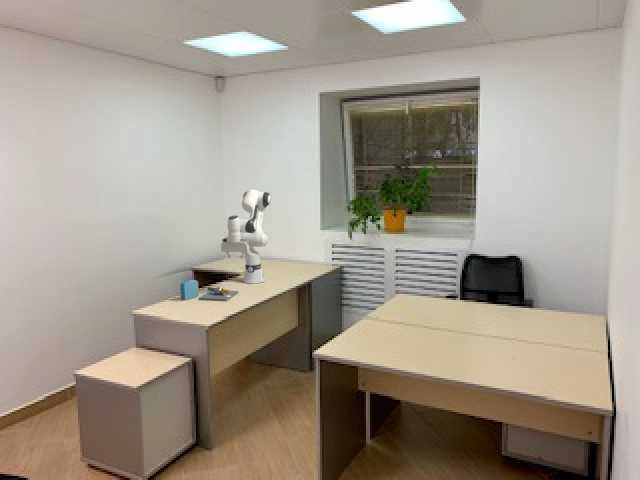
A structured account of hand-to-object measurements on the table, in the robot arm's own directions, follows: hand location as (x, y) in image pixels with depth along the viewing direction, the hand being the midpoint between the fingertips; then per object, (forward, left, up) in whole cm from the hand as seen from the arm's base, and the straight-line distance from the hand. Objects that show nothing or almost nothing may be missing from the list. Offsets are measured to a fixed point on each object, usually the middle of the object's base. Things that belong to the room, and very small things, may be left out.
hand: (235, 258), depth 345 cm
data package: (+20, -27, -26) cm, 42 cm away
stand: (+12, -9, -25) cm, 29 cm away
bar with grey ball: (+12, -9, -24) cm, 28 cm away
